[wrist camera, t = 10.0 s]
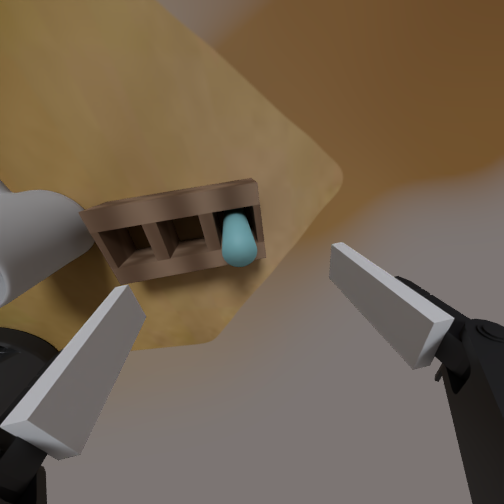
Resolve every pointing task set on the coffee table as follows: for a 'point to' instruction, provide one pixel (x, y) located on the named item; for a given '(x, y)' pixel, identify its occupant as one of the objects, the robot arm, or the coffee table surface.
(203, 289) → the coffee table surface
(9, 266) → the mug
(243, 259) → the peg
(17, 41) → the coffee table surface
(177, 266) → the hole block
